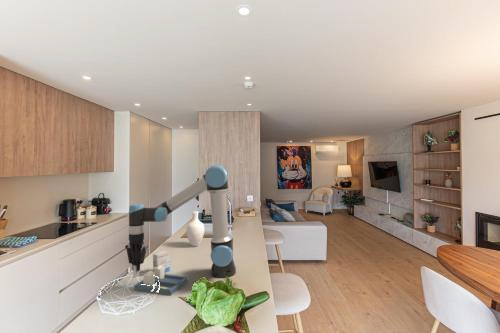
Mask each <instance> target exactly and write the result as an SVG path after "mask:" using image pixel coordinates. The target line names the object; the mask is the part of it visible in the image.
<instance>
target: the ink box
mask: <svg viewBox="0 0 500 333" xmlns="http://www.w3.org/2000/svg"><path fill="white" fill-rule="evenodd" d="M170 255H171V254H170V251H168V250H163V251H159V252H157V253H153V254H152V272H154V268H156V267H157V266H160V265H162V266H163V267H164V273H165V274H166V273H167V272H170V271H171V266H170V265H171V264H170V262H171V261H170V257H171V256H170Z"/></svg>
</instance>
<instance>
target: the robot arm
mask: <svg viewBox="0 0 500 333" xmlns="http://www.w3.org/2000/svg"><path fill="white" fill-rule="evenodd" d="M228 176H229V175H228V171H227V169H226V168H225V167H223V166H221V165H218V164H215V165H210V167H208V169H207V170H206V171H205V173H204V174H203V175H202V177H201V178H200V179H198V180H197V181H196V182H194V183H192V184H191V185H189V186H188V187H186V188H184V189H183V190H181V191H180V192H178V193H177V194H175V195H174V196H172V197H170V198H168V199H167V200H165V201H164V202H162V203H161V204H158V205H157V206H155V207H145V205H144V204H143V203H134V204H133V203H132V204H130V205H129V206H128V208H129V209H128V233H129V234H128V241H129V243H128V244H126V245H125V246H124V247H125V249H126V250H125V251H126V254H127V259H128V264H131V265H132V266H131V268H132V269H131V270H132V272H133V274H132V276H133V279H136V278H138V277H140V271H141V265H142V264H144V261H145V258H146V257H145V256H146V252H147V249H149V246H148V245H146V244H145V242H144V240H145V223H149V222H150V223H151V222H155V223H160V222H166V221H167V219H168V216H169V215H170V214H171V213H173V212H174V211H176V210H177V209H179V208H181V207H182V206H184V205H185V204H187V203H188V202H190V201H192V200H194V199H195V198H196V197H198V196H200V195H201V194H203V193H204V192H208V193H209V197H210V210H211V212H210V213H211V224H212V238H211V239H210V249H211V251H210V259H211V262H212V265H211V268H210V275H211V276H212V277H213V278H220V279H221V278H225V279H226V278H229V277H232V276H234V275H235V274H237V267H236V263H235V262H234V236H233V234H231V233H230V232H229V221H228V220H229V219H228V217H229V216H228V206H227V194H226V192H228V190H229V183H228V182H229V181H228V180H229V179H228ZM226 276H228V277H226Z"/></svg>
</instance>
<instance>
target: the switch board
mask: <svg viewBox="0 0 500 333" xmlns="http://www.w3.org/2000/svg"><path fill="white" fill-rule="evenodd" d="M188 277H189V276H188ZM188 277H187V275H179V274H171V273H166V272H165V273H164V278H163V279H158V278H155V283H156V282H157V286H155V289H154V291H153V292H154V293H153V292H152V293H153V294H156V293H155V292H156V291H157V290H158V288H159V286H158V285H159V282H160V290H159V293H158V294H159V295H160V294H161V295H167V296H172V295H173V294H175V293H176V292H177V291H178V290H180V288H182V287H183V286H184V285H185V284H187V283H188V282H189V281H188V280H189V278H188ZM158 280H159V282H158ZM141 284H143V279H142V280H140V282H139V281H138V282H137V283H136V284H135V285H133V287H134V288H133V289H134V291H138V292H139V291H141V292H146V291H151V290H152V289H153V286H152V285H150V286H147V285H141Z"/></svg>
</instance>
